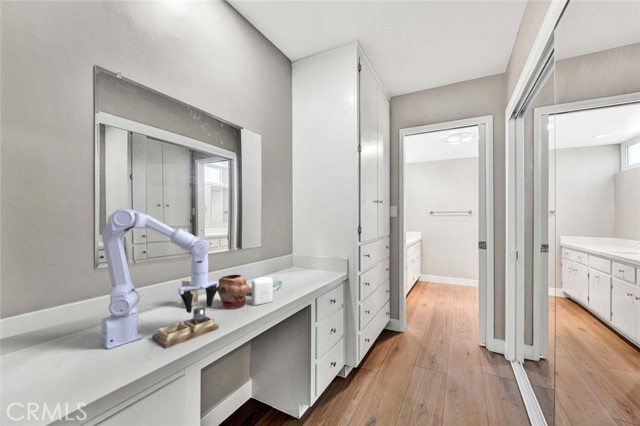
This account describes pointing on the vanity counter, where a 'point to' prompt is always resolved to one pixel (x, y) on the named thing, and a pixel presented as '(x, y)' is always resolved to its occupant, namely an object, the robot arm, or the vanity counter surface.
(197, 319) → the grey metal peg
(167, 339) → the socket board
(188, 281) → the skincare box
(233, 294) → the decorative planter
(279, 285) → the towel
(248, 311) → the vanity counter surface
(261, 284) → the photo printer
